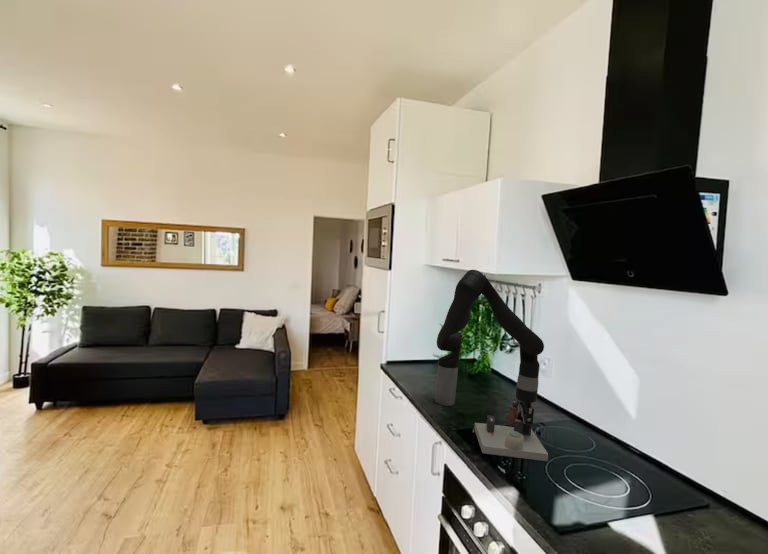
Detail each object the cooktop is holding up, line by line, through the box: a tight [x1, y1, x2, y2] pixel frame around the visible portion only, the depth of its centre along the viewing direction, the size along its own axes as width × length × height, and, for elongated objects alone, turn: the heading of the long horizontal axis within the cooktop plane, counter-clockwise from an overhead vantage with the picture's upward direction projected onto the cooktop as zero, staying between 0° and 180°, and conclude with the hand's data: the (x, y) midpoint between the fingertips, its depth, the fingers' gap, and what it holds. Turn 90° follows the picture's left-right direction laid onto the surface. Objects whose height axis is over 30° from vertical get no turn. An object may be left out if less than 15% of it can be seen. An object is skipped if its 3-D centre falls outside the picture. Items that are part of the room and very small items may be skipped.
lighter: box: [507, 399, 518, 427], centre depth 166 cm, size 8×3×10 cm, turn 105°
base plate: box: [473, 422, 549, 462], centre depth 147 cm, size 20×22×7 cm
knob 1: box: [485, 414, 496, 432], centre depth 152 cm, size 2×6×4 cm, turn 169°
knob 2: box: [513, 419, 533, 436], centre depth 151 cm, size 2×6×4 cm, turn 71°
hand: (522, 428), depth 152 cm, fingers open, 8 cm apart
